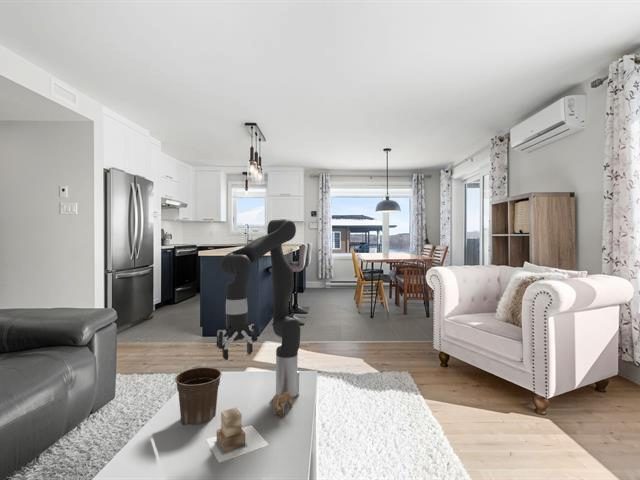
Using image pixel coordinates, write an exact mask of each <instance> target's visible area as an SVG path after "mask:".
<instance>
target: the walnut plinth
mask: <svg viewBox="0 0 640 480" xmlns="http://www.w3.org/2000/svg"><path fill="white" fill-rule="evenodd" d="M216 436H217V443H218V445H219V447H220V448H221V450H222V451H223V453H226V452H228V451H231V450H234V449H237V448H240V447H243V446H245V432H244V431H243V430H242V432H241V433H239V434H236V435H233V436H229V437H225V435H224V434H223V432H222V431H221V428H218V429H216Z"/></svg>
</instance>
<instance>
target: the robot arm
mask: <svg viewBox="0 0 640 480" xmlns="http://www.w3.org/2000/svg"><path fill="white" fill-rule="evenodd" d="M266 229H267V231H266V232H267V234H266V235H263V236H260V237H258V238H256V239H253V240H252V241H250V242H249V243H247V244H246V245H244V246H243V247H242V248H237V249H236V250H233V251H231V252H229V253H227V254H226V255H225V256H223V258H222V259H221V261H220V269H221V271H222V272H223V273H224V274H227V275H234V279H233V280H232V281H229V282H227V283H226V286H225V297H226V299H225V326H226V327H225V329H223V330H221V329H218V330H217V331H216V347H217V348H218V349H219V350H222V359H224V360H225V361H228V360H229V347H230V345H231V344H232V343H233V342H237V341H239V340H240V341H242V340H245V342H247V343H246V353H247V355H252V353H253V343H254V342H258V330H257V328H258V327H257V325H256V324H254V323H251V324H250V325H249V324H248V323H249V306H248V297H247V296H248V295H247V293H248V292H247V286H248V281H249V278H250V277H249V276H250V273H251V270H252V269H251V267H252V265H251V264H254V263H256V262H258V261H259V260H260V259H261V258H263V257H264V255H266V254H268V253H270V263H271V264H270V265H271V281H272V285H271V286H272V299H273V302H272V303H273V315H272V318H273V319H272V329H273V332H274V335H276V336H277V337H279V338H281V345H279V346H278V347H276V351H275V396H276V395H282V394H283V393H284V392H287V391H288V392H289V393H290V394H291V399H293V398H296V397H297V396H299V395H300V371H298V363H299V361H298V359H299V356H298V351H299V349H300V346H301V345H300V343H301V324H300V322H299V320H298V319H296V318H293V317H290V313H289V304H290V302H289V301H290V299H291V296H292V294H293V291H294V288H295V287H294V286H295V281H294V278H295V277H294V270H293V267H292V266H291V264H290V262H289V261H288V259H287V257H286V256H285V254H284V251H283V247H282V244H285V243H287V242H289V241H291V240H293V239H294V238H295V236H296V233H297V227H296V224H295V222H294V221H293V220H291V219H288V218H284V219H273V220H269V222H268V225H267V228H266ZM249 331H250V334H251V335H250V336H251V337H250V336H249V335H248V332H249ZM225 335H226V337H225ZM224 337H225V339H224Z"/></svg>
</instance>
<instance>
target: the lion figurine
mask: <svg viewBox="0 0 640 480" xmlns="http://www.w3.org/2000/svg"><path fill="white" fill-rule="evenodd" d="M272 400H273V401H272V407H273V409H274V416H275V417H278V412H280V418H284V417H285V405H286V403H287V404H290V405H289V407H290V408H293V407H294V406H293V400H292V398H291V394H290V393H289V392H288V391H287V392H284V393H283V394H282V395H276V394H275V396H274V398H273V399H272Z"/></svg>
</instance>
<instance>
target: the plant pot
mask: <svg viewBox="0 0 640 480" xmlns="http://www.w3.org/2000/svg"><path fill="white" fill-rule="evenodd" d="M222 375H223V374H222V371H221V370H220V369H219V368H215V367H205V366H204V367H201V366H200V367H194V368H190V369H186V370H183V371H182V372H180V373H178V374H177V375H176V376H175V378H174V381H175V383H176V389H177V392H178V402H179V403H178V404H179V413H180V422H181V424H182V425H184V426H186V425H190V426H192V425H193V426H194V425H195V426H196V425H202V424H205V423H207V422H208V423H209V421H211V420H213V419H214V418H215V417H216V414H217V404H218V394H219V386H220V382H221V377H222Z"/></svg>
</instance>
